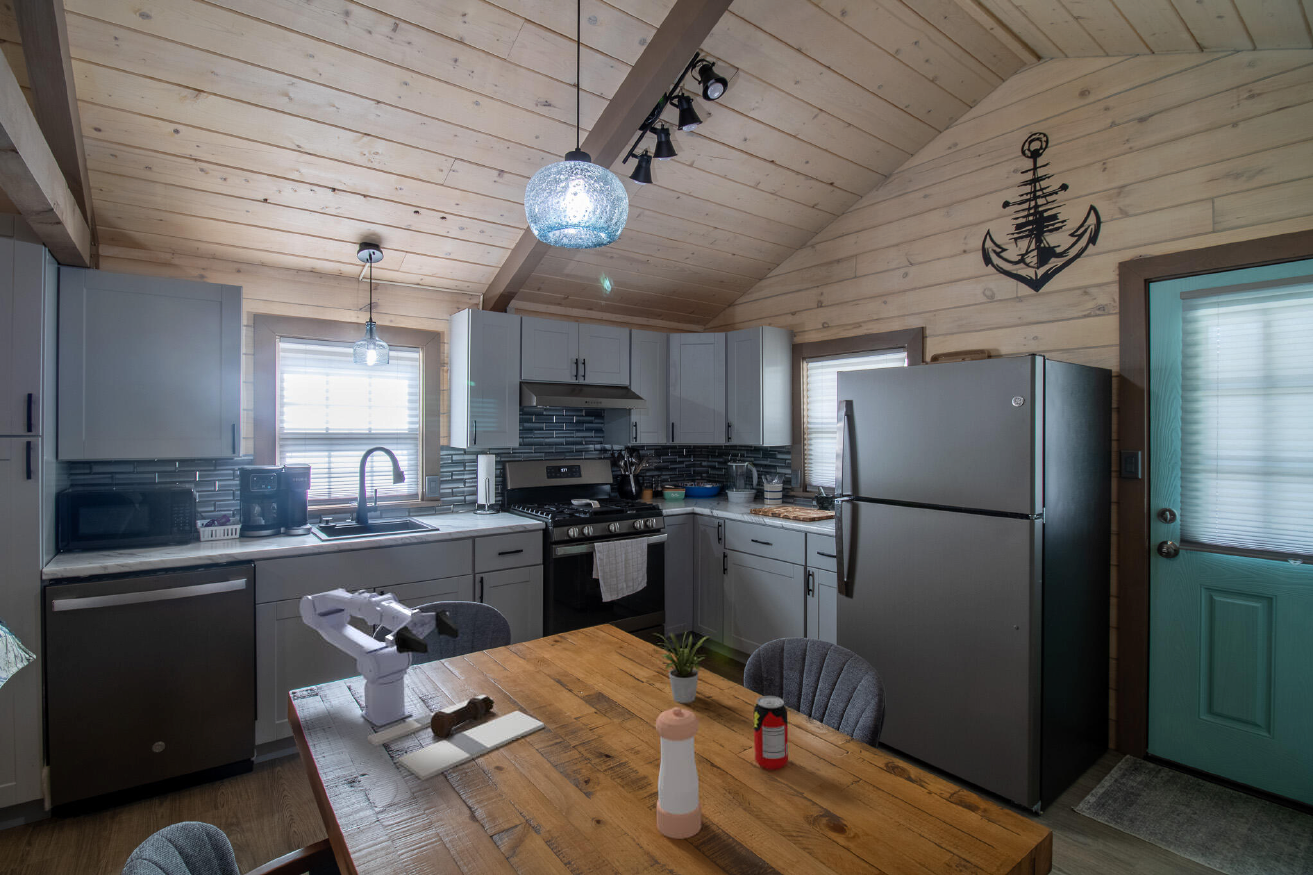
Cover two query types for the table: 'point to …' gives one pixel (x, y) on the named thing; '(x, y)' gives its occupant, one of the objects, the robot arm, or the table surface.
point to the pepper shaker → (678, 775)
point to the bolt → (459, 716)
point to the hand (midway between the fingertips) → (441, 640)
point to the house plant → (683, 670)
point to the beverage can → (770, 732)
